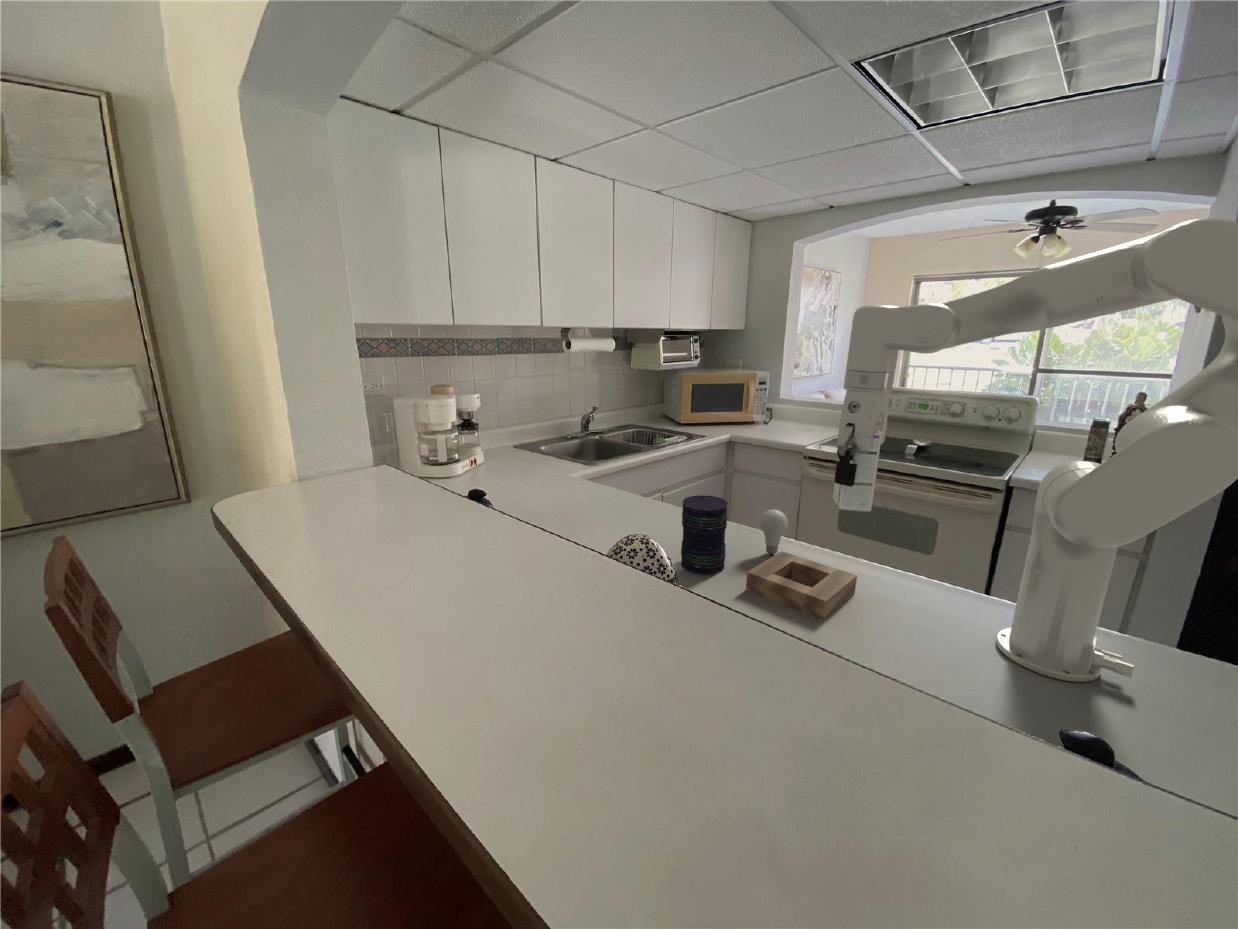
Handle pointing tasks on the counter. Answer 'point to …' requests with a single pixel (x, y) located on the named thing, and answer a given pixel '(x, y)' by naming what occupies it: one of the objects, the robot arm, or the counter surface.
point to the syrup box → (860, 480)
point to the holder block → (815, 601)
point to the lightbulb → (773, 529)
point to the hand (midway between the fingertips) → (853, 479)
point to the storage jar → (704, 534)
